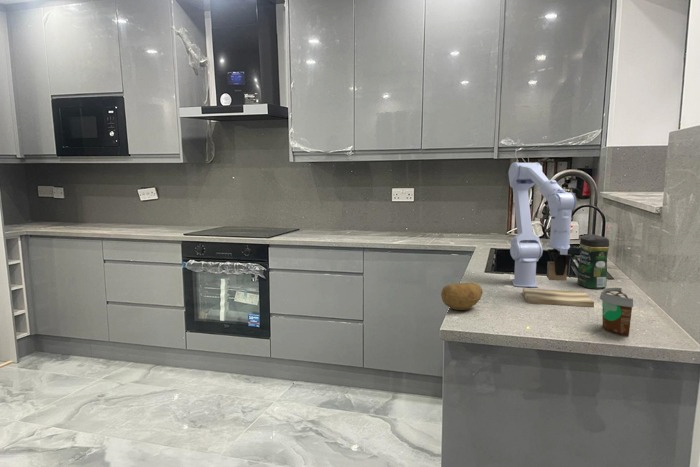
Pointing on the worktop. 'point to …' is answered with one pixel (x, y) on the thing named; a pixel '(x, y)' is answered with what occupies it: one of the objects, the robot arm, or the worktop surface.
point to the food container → (616, 311)
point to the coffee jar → (593, 261)
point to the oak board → (557, 297)
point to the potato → (461, 295)
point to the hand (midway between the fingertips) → (557, 273)
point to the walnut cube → (552, 275)
